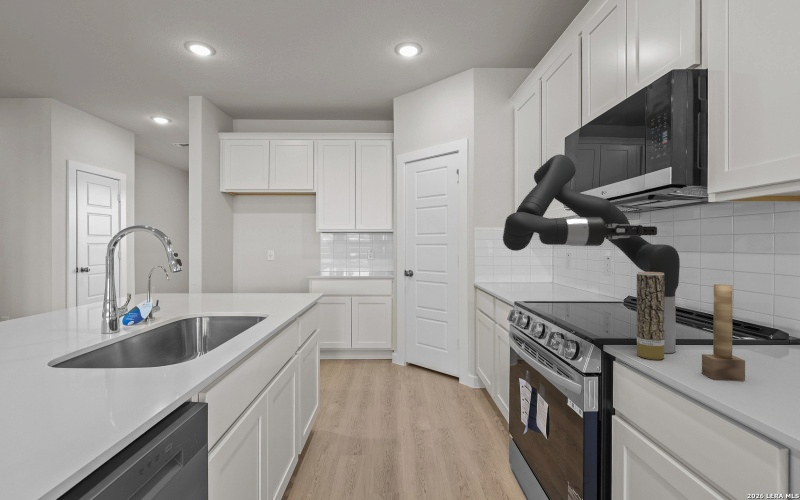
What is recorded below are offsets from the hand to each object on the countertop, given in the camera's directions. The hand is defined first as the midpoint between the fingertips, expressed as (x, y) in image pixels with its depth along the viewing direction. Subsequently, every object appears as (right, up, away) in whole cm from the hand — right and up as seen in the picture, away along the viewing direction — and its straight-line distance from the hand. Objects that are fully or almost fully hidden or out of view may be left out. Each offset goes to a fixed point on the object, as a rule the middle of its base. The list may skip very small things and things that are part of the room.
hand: (646, 231), depth 99 cm
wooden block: (+17, -37, -3) cm, 40 cm away
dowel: (+17, -31, -3) cm, 36 cm away
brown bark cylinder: (+10, -37, +14) cm, 41 cm away
